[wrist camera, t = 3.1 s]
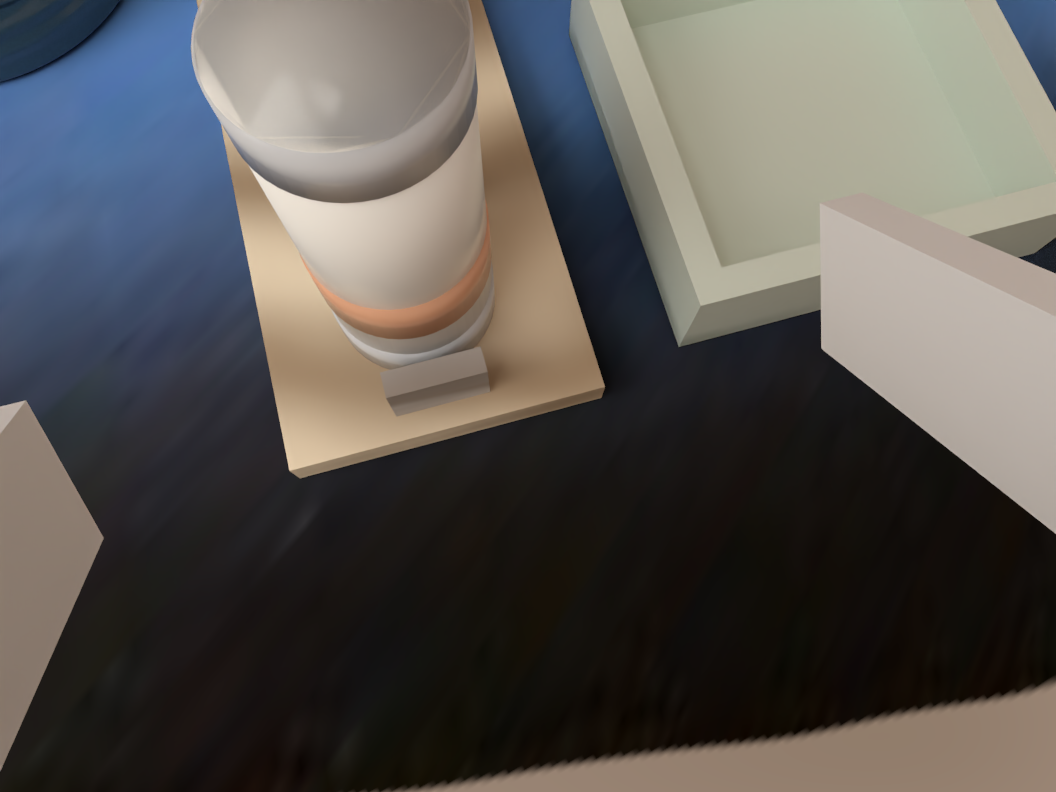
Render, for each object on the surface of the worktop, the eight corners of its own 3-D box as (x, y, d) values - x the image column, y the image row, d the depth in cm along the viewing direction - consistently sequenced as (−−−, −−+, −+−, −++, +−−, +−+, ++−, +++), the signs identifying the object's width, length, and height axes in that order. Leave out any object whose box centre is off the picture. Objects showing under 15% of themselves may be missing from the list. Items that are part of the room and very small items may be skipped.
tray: (568, 34, 31) (574, -40, 27) (888, -39, 32) (931, -119, 28) (678, 347, 27) (700, 305, 24) (1034, 253, 28) (1103, 201, 25)
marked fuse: (322, 248, 27) (171, -47, 15) (473, 211, 27) (435, -103, 16) (355, 391, 25) (216, 185, 14) (513, 349, 26) (505, 117, 14)
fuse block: (204, 4, 31) (169, -66, 28) (459, -52, 32) (452, -125, 29) (300, 478, 26) (269, 456, 23) (601, 397, 27) (611, 366, 24)
